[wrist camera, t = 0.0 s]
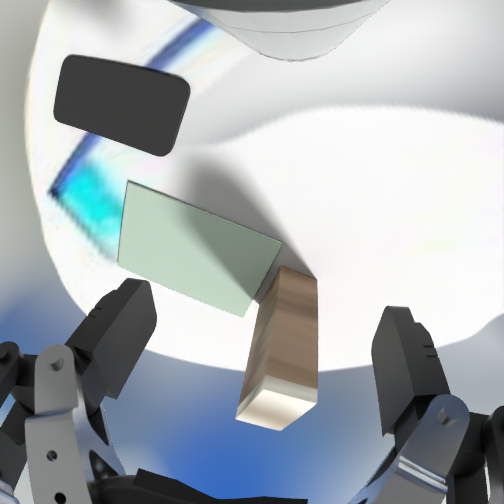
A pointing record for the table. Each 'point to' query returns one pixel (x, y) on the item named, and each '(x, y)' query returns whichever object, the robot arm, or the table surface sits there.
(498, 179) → the table surface
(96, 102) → the phone
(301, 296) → the walnut block
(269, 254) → the green mat
